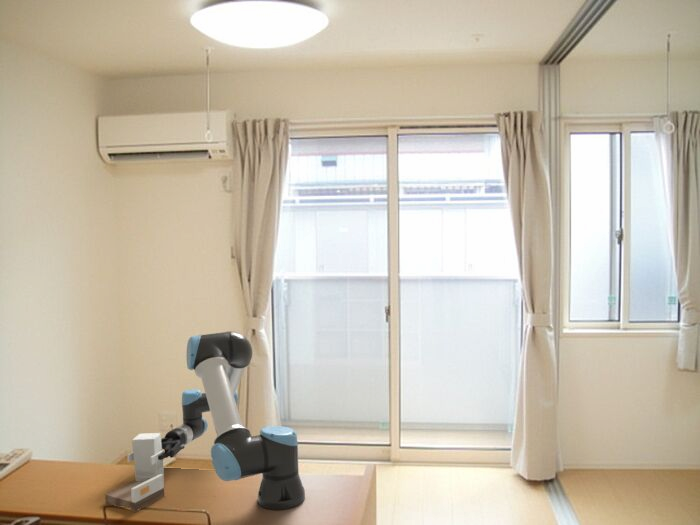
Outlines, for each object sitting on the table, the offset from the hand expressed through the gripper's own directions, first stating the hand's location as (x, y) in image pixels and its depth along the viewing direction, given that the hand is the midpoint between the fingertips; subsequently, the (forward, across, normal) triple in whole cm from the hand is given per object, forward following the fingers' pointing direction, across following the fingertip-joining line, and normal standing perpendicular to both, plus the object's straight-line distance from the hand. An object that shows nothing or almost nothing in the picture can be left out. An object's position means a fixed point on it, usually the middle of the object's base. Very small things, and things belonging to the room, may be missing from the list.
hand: (139, 459), depth 205 cm
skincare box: (-5, 0, -9) cm, 10 cm away
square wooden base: (+11, -6, -9) cm, 15 cm away
